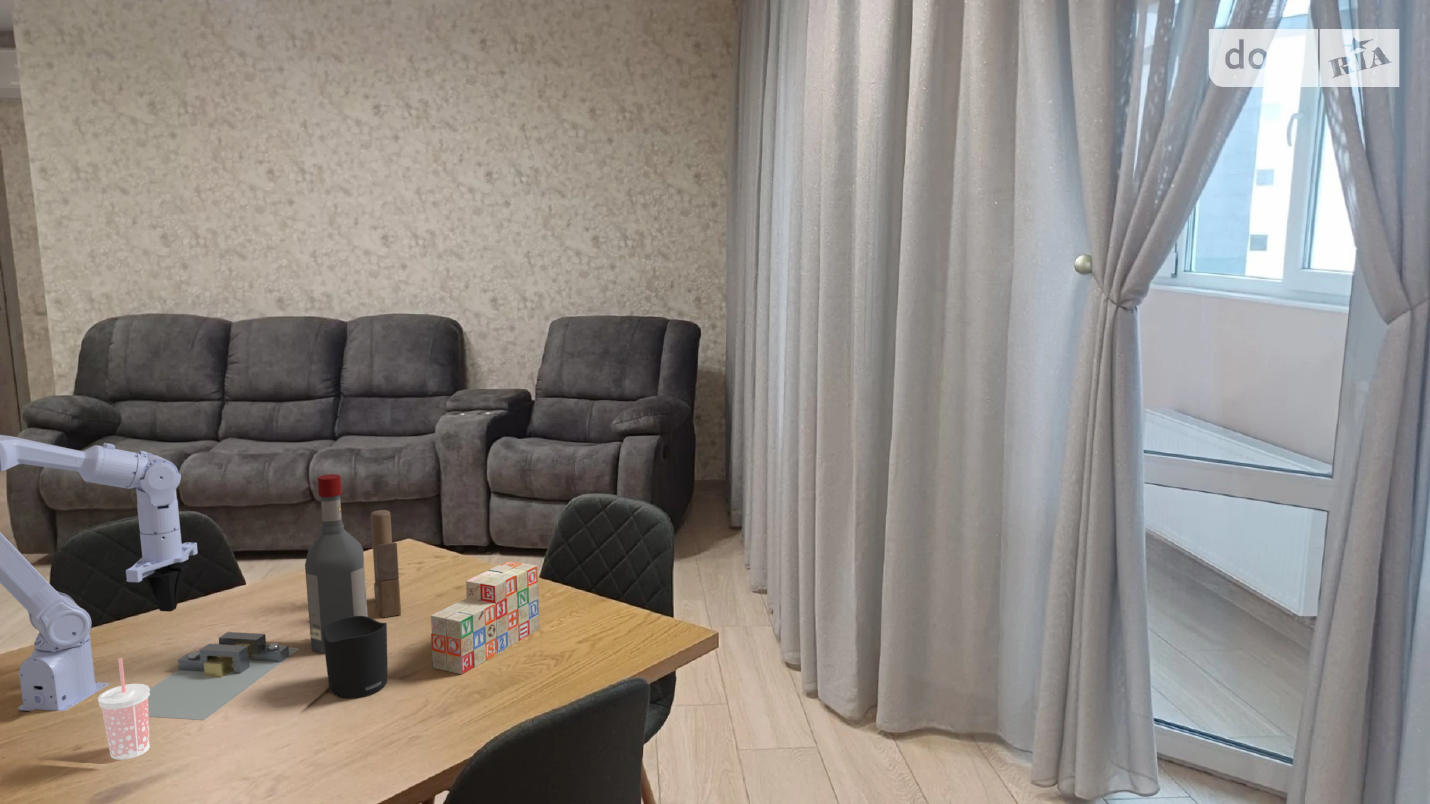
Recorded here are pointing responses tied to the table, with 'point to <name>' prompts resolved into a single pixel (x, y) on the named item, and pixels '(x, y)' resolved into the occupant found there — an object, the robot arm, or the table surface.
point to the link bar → (221, 664)
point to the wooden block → (385, 565)
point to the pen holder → (356, 656)
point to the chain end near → (197, 659)
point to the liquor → (333, 567)
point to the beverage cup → (126, 718)
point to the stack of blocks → (486, 617)
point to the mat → (202, 691)
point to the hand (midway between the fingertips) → (168, 609)
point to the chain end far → (257, 646)
